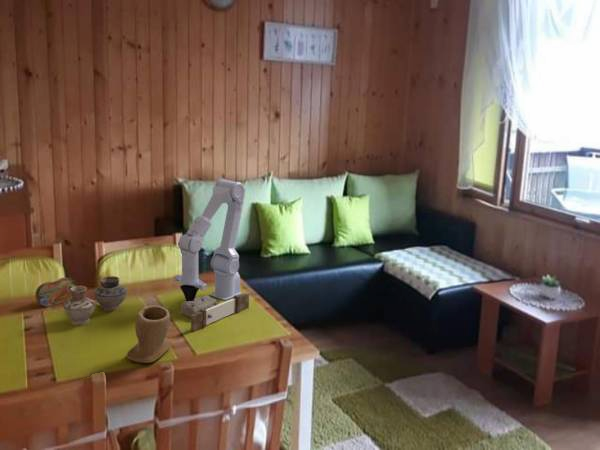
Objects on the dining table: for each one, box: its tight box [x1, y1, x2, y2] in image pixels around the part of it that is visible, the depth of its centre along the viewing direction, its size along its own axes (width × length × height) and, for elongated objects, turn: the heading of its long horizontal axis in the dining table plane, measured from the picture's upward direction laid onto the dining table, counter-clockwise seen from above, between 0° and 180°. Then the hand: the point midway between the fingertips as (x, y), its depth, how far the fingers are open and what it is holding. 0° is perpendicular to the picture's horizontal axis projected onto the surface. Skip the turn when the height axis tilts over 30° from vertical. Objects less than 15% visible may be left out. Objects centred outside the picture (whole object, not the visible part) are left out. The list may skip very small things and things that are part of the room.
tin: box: [35, 277, 78, 308], centre depth 212 cm, size 15×3×8 cm, turn 143°
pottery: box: [62, 275, 128, 326], centre depth 203 cm, size 11×25×12 cm, turn 156°
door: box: [206, 297, 236, 326], centre depth 204 cm, size 15×2×5 cm, turn 144°
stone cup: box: [126, 305, 174, 364], centre depth 177 cm, size 15×12×15 cm
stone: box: [180, 295, 219, 318], centre depth 210 cm, size 13×6×10 cm
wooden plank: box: [190, 292, 250, 332], centre depth 205 cm, size 27×2×6 cm, turn 144°
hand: (190, 304), depth 213 cm, fingers closed
